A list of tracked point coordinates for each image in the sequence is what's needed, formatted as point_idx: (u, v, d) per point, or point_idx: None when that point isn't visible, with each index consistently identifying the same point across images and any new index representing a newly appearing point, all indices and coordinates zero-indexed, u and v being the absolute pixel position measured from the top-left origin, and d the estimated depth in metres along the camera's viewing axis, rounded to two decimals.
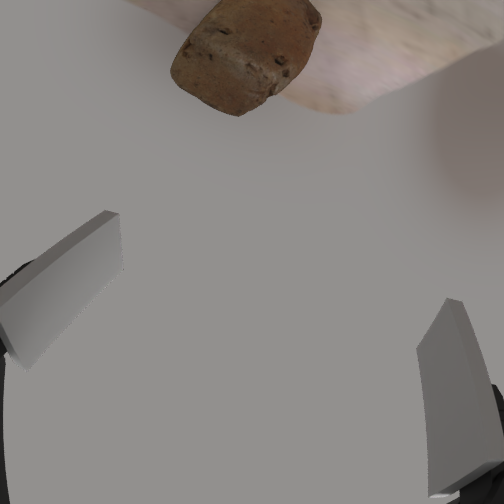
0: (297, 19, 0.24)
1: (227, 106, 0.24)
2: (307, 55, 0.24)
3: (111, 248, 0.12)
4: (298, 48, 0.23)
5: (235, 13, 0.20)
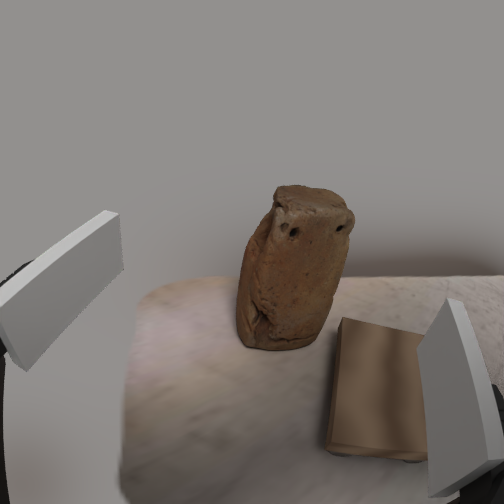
0: (284, 302, 0.34)
1: (291, 188, 0.33)
2: (266, 266, 0.31)
3: (111, 248, 0.12)
4: (280, 263, 0.31)
5: (336, 255, 0.32)
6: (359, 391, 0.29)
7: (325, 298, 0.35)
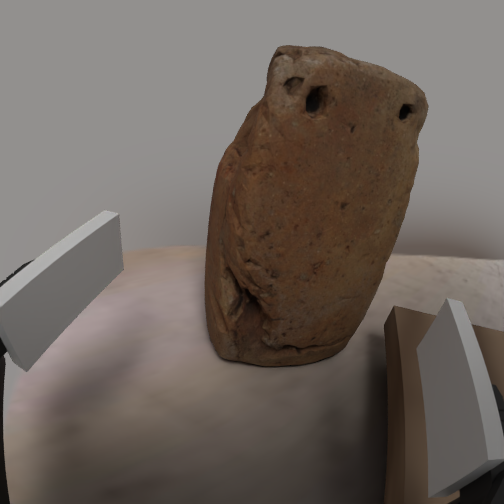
0: (293, 268, 0.16)
1: None
2: (255, 178, 0.13)
3: (111, 248, 0.12)
4: (285, 170, 0.13)
5: (399, 171, 0.14)
6: None
7: (373, 266, 0.17)
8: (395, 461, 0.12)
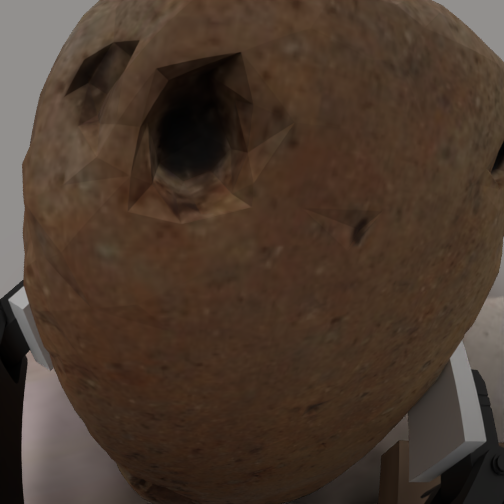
0: (211, 479, 0.07)
1: None
2: (64, 380, 0.04)
3: None
4: (124, 380, 0.04)
5: (464, 305, 0.05)
6: None
7: (372, 441, 0.08)
8: None
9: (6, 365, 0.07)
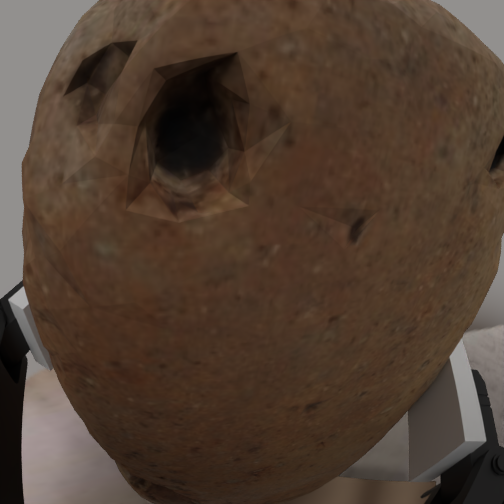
0: (210, 479, 0.07)
1: None
2: (63, 378, 0.04)
3: None
4: (122, 379, 0.04)
5: (463, 304, 0.05)
6: None
7: (371, 441, 0.08)
8: None
9: (6, 365, 0.07)
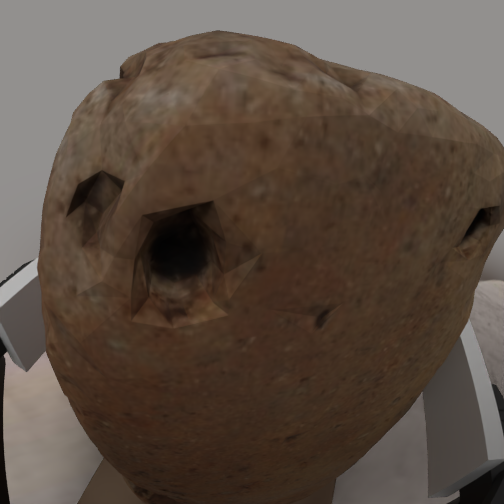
0: (206, 491, 0.07)
1: None
2: (82, 419, 0.05)
3: None
4: (133, 423, 0.05)
5: (430, 354, 0.06)
6: None
7: (352, 458, 0.09)
8: None
9: None
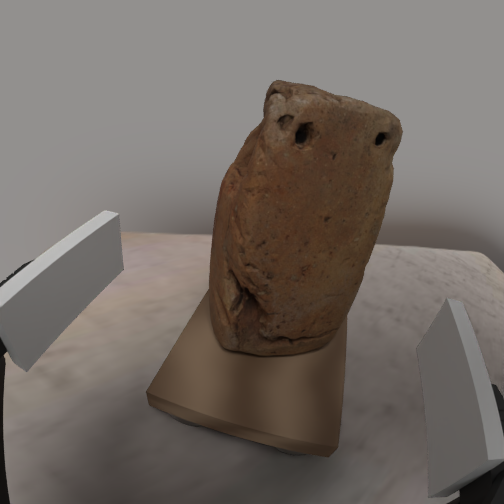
0: (285, 271, 0.19)
1: None
2: (253, 198, 0.17)
3: (111, 248, 0.12)
4: (278, 192, 0.16)
5: (375, 188, 0.18)
6: (209, 341, 0.25)
7: (354, 268, 0.21)
8: None
9: None
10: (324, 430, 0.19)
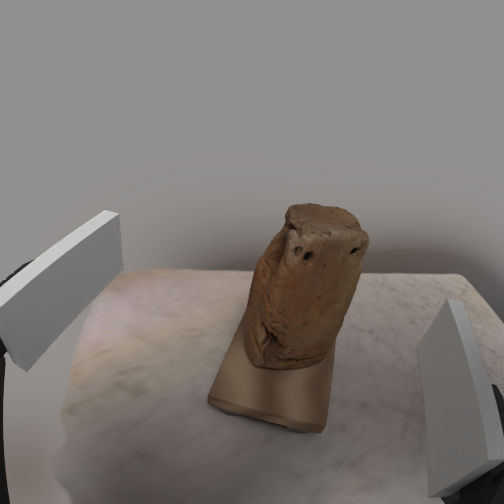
0: (295, 324, 0.32)
1: (304, 207, 0.32)
2: (279, 290, 0.30)
3: (111, 248, 0.12)
4: (292, 287, 0.30)
5: (349, 278, 0.31)
6: (244, 360, 0.39)
7: (336, 319, 0.34)
8: None
9: None
10: (317, 415, 0.33)
